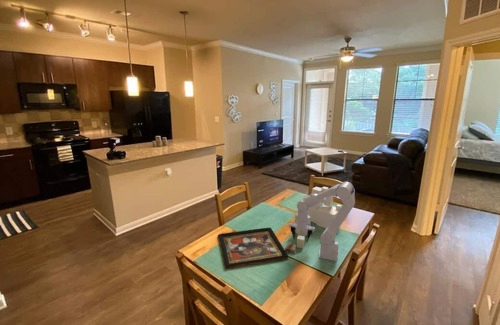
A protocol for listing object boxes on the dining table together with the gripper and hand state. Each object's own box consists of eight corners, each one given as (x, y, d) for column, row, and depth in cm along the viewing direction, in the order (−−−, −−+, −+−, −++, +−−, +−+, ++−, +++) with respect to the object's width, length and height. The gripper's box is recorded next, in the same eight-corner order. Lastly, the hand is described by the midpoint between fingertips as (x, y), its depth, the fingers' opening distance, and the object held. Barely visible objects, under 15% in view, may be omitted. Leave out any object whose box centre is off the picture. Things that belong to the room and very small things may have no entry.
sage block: (304, 244, 147) (304, 236, 145) (303, 248, 143) (304, 240, 142) (297, 243, 148) (298, 235, 146) (296, 246, 144) (297, 238, 143)
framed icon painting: (267, 226, 167) (268, 223, 166) (294, 258, 135) (294, 254, 134) (212, 238, 154) (212, 234, 153) (227, 276, 122) (227, 271, 121)
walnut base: (295, 248, 143) (296, 244, 143) (294, 254, 138) (294, 250, 138) (286, 246, 145) (286, 243, 144) (284, 252, 140) (285, 248, 139)
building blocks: (339, 224, 170) (343, 190, 163) (332, 231, 161) (336, 196, 155) (311, 214, 183) (313, 183, 177) (303, 220, 175) (305, 187, 168)
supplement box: (300, 237, 154) (301, 219, 150) (293, 231, 161) (295, 213, 157) (310, 234, 157) (311, 217, 153) (303, 229, 163) (304, 212, 160)
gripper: (315, 218, 142) (313, 238, 146) (291, 213, 147) (289, 233, 150) (314, 223, 136) (312, 245, 139) (288, 219, 140) (287, 240, 144)
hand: (300, 239), depth 144 cm, fingers open, 7 cm apart
